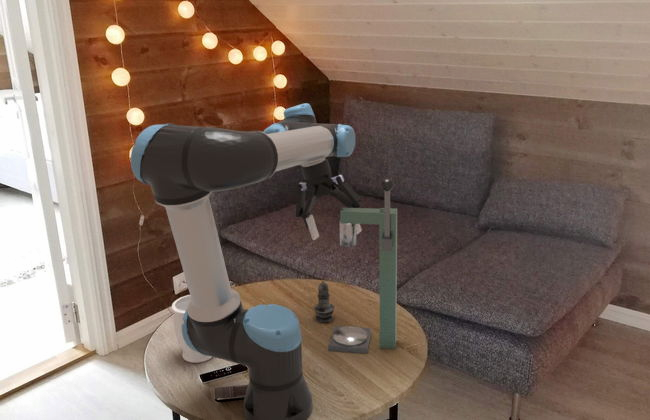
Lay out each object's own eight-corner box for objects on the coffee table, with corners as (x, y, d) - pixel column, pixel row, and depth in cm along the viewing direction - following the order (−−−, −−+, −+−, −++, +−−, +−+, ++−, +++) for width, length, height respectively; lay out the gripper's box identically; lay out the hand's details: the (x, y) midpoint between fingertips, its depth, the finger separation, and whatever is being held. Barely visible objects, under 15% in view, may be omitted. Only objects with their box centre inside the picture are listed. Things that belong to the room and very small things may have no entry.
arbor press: (394, 355, 145) (395, 181, 130) (328, 350, 148) (322, 179, 133) (397, 334, 155) (398, 169, 140) (334, 330, 158) (329, 168, 143)
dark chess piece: (332, 312, 167) (330, 275, 163) (336, 322, 162) (335, 284, 158) (312, 315, 166) (310, 277, 162) (316, 325, 161) (314, 286, 157)
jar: (224, 344, 153) (219, 293, 148) (213, 366, 144) (207, 313, 139) (186, 343, 154) (179, 293, 149) (172, 365, 145) (165, 312, 140)
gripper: (360, 149, 149) (382, 224, 154) (282, 166, 162) (305, 235, 167) (348, 157, 143) (372, 235, 148) (268, 174, 156) (292, 245, 161)
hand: (336, 235), depth 157 cm, fingers open, 13 cm apart
